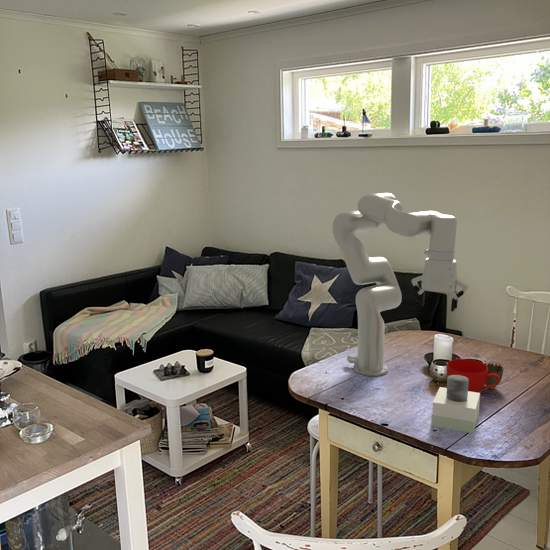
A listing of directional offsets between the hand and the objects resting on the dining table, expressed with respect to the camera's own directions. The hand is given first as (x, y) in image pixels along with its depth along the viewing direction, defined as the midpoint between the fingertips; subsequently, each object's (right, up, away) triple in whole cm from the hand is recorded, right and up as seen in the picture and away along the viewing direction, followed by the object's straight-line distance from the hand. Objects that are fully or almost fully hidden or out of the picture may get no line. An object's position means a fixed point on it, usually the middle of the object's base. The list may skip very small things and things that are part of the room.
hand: (437, 308), depth 189 cm
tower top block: (+3, -30, -9) cm, 32 cm away
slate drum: (+3, -26, -10) cm, 28 cm away
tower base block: (+3, -34, -8) cm, 35 cm away
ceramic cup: (+14, -30, +9) cm, 34 cm away
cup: (+22, -28, +14) cm, 38 cm away
